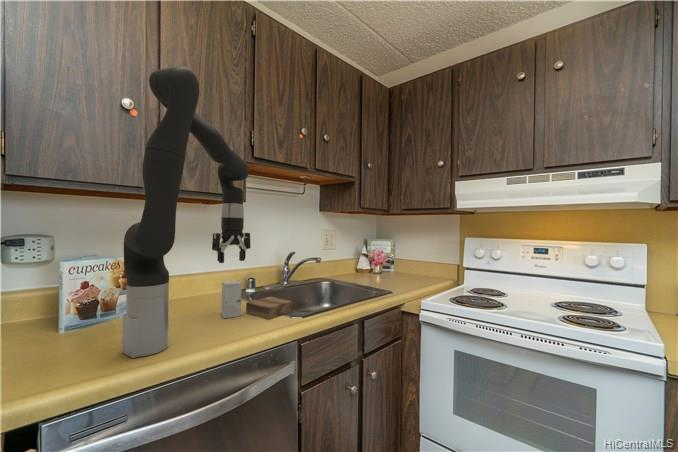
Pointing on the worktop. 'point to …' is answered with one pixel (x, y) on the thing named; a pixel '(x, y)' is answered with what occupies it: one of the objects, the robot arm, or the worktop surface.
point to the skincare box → (231, 299)
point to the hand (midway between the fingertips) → (232, 261)
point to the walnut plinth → (269, 307)
